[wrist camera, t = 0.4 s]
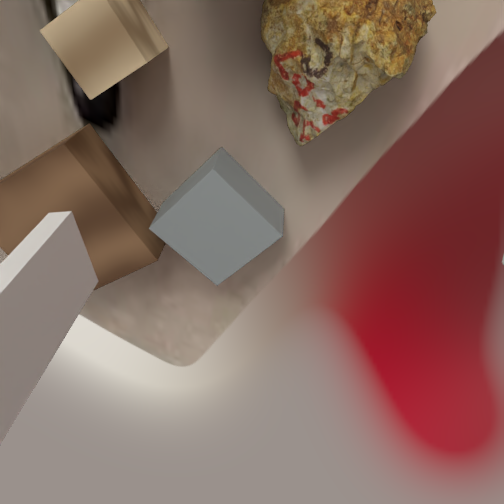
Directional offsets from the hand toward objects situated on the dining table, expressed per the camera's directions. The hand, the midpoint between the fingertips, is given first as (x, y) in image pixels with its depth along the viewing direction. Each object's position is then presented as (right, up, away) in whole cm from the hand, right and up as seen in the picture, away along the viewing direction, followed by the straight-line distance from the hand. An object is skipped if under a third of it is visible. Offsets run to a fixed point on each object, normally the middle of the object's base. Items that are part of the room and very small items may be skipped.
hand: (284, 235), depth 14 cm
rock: (+4, +16, +20) cm, 25 cm away
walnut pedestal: (-17, +4, +29) cm, 34 cm away
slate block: (-4, +4, +28) cm, 29 cm away
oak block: (-11, +16, +21) cm, 28 cm away
